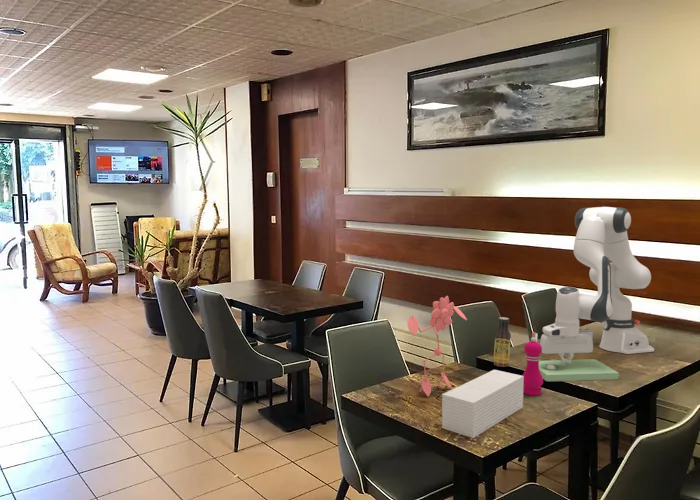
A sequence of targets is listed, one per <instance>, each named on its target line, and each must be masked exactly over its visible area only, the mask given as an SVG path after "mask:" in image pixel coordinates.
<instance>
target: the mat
mask: <svg viewBox="0 0 700 500" xmlns="http://www.w3.org/2000/svg"><path fill="white" fill-rule="evenodd" d="M532 337H534V338H536V341H535V342H538V332H537V333H536V332H534V331H531V338H532ZM548 365H553V366H554V367H555V369H548V368H546V367H547V366H548ZM539 370H540V373H541V375H542V378H543V381H545V382H570V381H571V382H573V381H579V382H580V381H605V380H607V381H608V380H611V381H612V380H619V377H620V373H619V372H618V371H616V370H615V369H613V368H612V367H609V366H608V365H606V364H605V363H603V362H601V361H599V360H597V359H596V358H591V359H589V358H585V359H571V364H562V363H561V359H553V360H552V359H550V360H539Z"/></svg>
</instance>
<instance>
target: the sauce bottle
mask: <svg viewBox="0 0 700 500" xmlns="http://www.w3.org/2000/svg"><path fill="white" fill-rule="evenodd" d="M509 324H510V318H509V317H506V316H505V317H503V316H501V317H498V328H497V329H496V332H495V337H494V348H493V351H494V352H493V365H494V366H496V367H499V368H507V367H509V365H510V357H511V356H510V353H511V337H512V336H511V332H510V330H509Z"/></svg>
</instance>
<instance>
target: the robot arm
mask: <svg viewBox="0 0 700 500" xmlns="http://www.w3.org/2000/svg"><path fill="white" fill-rule="evenodd" d="M631 223H632V216H631V212H630V211H629V210H628V209H627V208H624V207H612V206H596V207H582V208H579V209H578V211H577V212H576V213H575V216H574V226H575V228H576V229H577V230H576V231H577V232H576V235H575V239H574V244H573V255H574V257H575V258H576V260H577V261H578V262H580V263H581V264H583V265H584V266H586V267H589V268H590V269H589V273H588V274H589V275H588V276H589V278H590V281H591V282H592V283H593V284H594V285H595V286H597V294H596V295H591V294H590V295H589V294H584V293H580V291H579V289H578V288H577V287H574V286H563V287H561V288H559V289H558V290H557V293H556V297H555V298H556V300H555V314H556V317H555V321H554V323H551V324H549V325H545V326H543V327H542V332H543V334H541V337H540V340H539V344H540V345H541V346H542V352H541V353H543V354H544V355H549V354H550V355H551V354H552V355H554V354H555V355H556V354H558V356H559V357H560V360H561V363H562V364H571V360H573V358H574V355H575V354H586V353H587V354H589V353H592V352H593V351H594V342H593V338H594V335H593V334H594V333H593V330H591V329H589V328H580V319H583V320H588V321H593V322H596V323H600V324H602V329H603V331H602V336H601V341H600V343H599V348H600V349H602V350H605V351H608V352H612V353H613V352H614V353H621V354H626V355H632V354H643V353H651V352H655V348H654V347H652V346H651V345H650V343H649V338H648V336H647V335H646V334H645V333H644V332H642V331H641V330H640V329H639V328H638V327H636V326H635V325H637V326H639V325H640V324H641V321H640V320H638V319H633V318H632V311H633V308H632V307H633V304H632V301H631V299H630V298H629V297H628V296H625V295H624V294H623V293H622V292H621V290H620V288H621V289H629V290H630V289H631V290H642V289H646V288H647V287H648V286H649V285H650V283H651V280H652V274H651V272H650V269H649V268H648V267H647V266H645V265H643V264H642V263H640V262H639V260H637V258H636V257H635V255H633V253H632V250H631V247H630V241H629V236H628V230H629V229H630V227H631ZM565 354H567V356H568V357H567V358H565V357H564V356H565Z"/></svg>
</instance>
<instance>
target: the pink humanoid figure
mask: <svg viewBox="0 0 700 500" xmlns="http://www.w3.org/2000/svg"><path fill="white" fill-rule="evenodd" d="M432 308H433V310H432V311H431V313H430V317H431V318H430V321H429V325H430V326H428V327H426V328H423V329H422V330H421V328H420V327H419V326H420V325H419V321H418V320H417V318H416V317H414V316H413V315H410V317H409V318H408V321H407V328H408V330H409V331H410V333H411V334H412V335H413V336H415V335H416V334H417V332H420V333H421V334H422V333H423V332H425V331H427V330H428V329H430V328H433V330H434V333H435V335H436V341H437V342H436V343H437V347H436V348H435V349H434V350H433V354H432V355H430V356H429V357H428V358H426V359H424V360H423V369H424V371H423V372H424V376H423V377H422V378H421V386H420V389H419V391H418V392H419V393H421V392H422V390H423V392H424V394H425V395H426V396H427V398H429V397H430V394H431V392H432V383H431V382H430V380H429V378H428V377H427V373H426V372H427V371H426V361H427V360H429V359H431V358H433V357H435V356H440V355H442V371H441V372H440V374H441V376H440V379H439V381H438V382H437V384H436V387H437V388H439V385H440V384H441V381H442V380H443V382H444V383H445V384H446V386H447V387H448V388H449V389H450V390H452V386H451V383H450V381H449V380H450V379H448V377H447V375H446V374H445V361H444V359H445V356H444V354H443V352H442V349H441V348H440V339H439V335H438V333H437V332H440V331H445V330H446V328H447V326H451V325H452V323H453V319H452V318H451V317H452V316H453V315H454V313H455V312H456V314H457V315H458V316H459V317H460V318H462V319H463V320H465V321H468V319H467V317H466V315H465V314H464V313H463V312H462V311H461V310H460V309H459V307H457V306H455V304H454V302H453V301H452V302H450V299H449V296H448V295H446V296H445V297H440V298H439V300H438V301H437V300H436V301H433V302H432ZM406 395H407V396H409V394H407V393H406Z"/></svg>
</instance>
